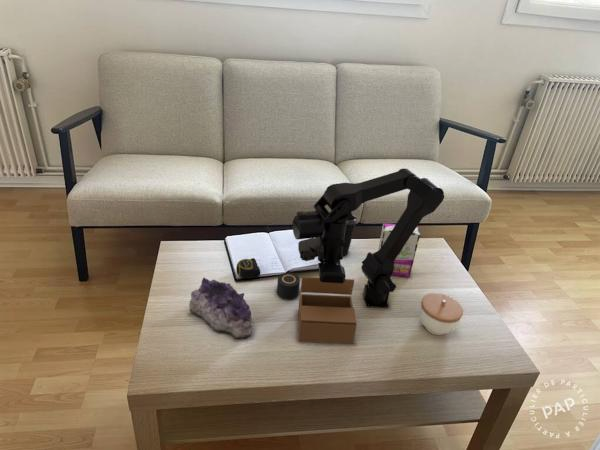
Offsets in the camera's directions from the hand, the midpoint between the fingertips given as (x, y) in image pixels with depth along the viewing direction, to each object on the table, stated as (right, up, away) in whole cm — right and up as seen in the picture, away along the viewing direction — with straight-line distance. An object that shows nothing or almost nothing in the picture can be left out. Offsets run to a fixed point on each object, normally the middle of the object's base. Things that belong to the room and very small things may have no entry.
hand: (326, 282), depth 112 cm
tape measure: (-23, +1, +17) cm, 28 cm away
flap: (0, -1, -2) cm, 2 cm away
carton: (-1, -12, -1) cm, 12 cm away
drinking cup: (+7, +6, +30) cm, 32 cm away
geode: (-28, -9, -1) cm, 29 cm away
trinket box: (+30, -13, +2) cm, 33 cm away
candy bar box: (+23, 0, +23) cm, 33 cm away
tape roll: (-11, -4, +10) cm, 15 cm away
